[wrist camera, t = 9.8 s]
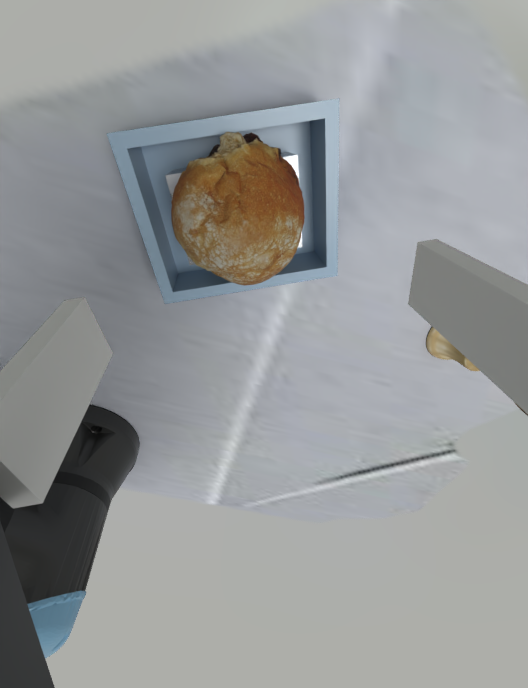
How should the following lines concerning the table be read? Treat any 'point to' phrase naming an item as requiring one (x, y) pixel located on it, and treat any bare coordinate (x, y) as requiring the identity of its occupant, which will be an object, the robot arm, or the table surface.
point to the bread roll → (239, 210)
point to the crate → (197, 142)
